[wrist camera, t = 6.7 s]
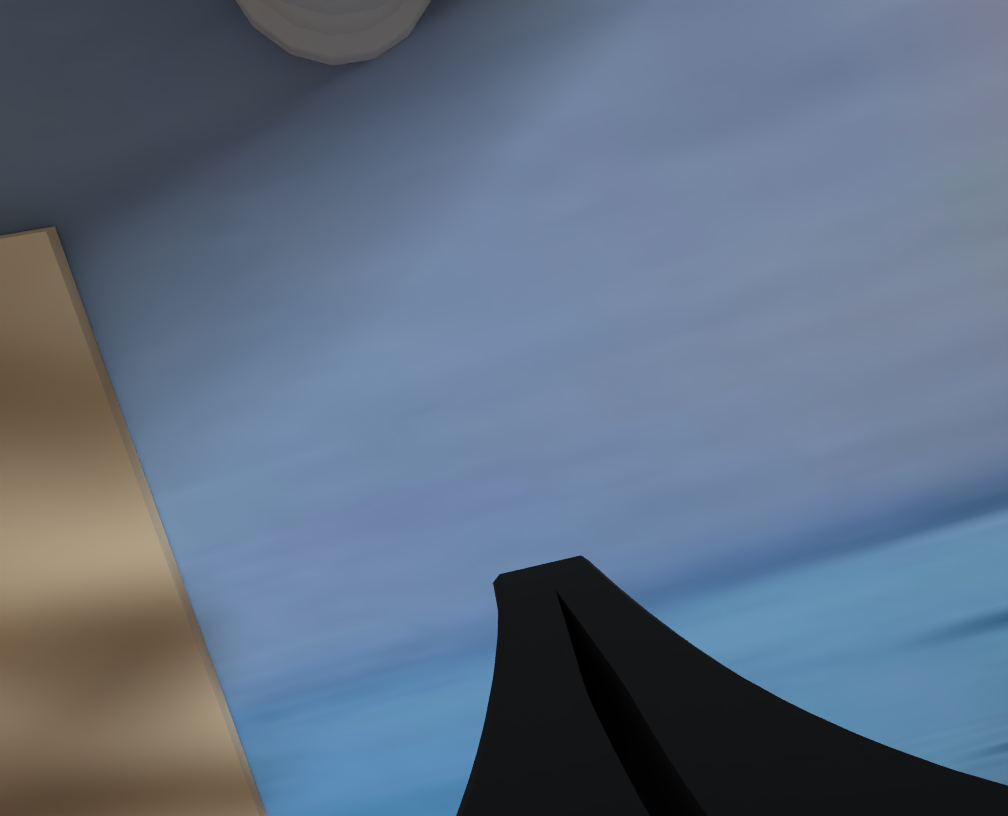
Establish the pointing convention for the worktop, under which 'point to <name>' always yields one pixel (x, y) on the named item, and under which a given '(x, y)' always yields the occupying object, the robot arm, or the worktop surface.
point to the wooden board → (92, 586)
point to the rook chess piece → (334, 26)
